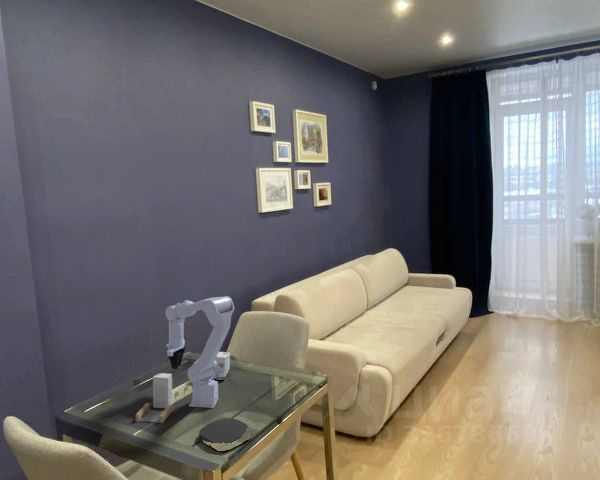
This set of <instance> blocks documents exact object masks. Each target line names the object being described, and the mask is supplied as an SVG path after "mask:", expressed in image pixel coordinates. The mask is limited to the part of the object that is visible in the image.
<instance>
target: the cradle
mask: <svg viewBox="0 0 600 480" xmlns="http://www.w3.org/2000/svg"><path fill="white" fill-rule="evenodd" d="M172 412H173V403H172V404H169V405H168V406H167V407H166V408H164V410H156V409H155V410H154V409H150V402H146V403H144V405H143V406H142V407H141V408H140V409H139V410H138V411H137V413H136V414H135V422H139V423H153V424H154V423H157V424H163V423H164V422H165V421H166V420H167V418H168V417H169V416H170V415H171V413H172Z"/></svg>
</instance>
